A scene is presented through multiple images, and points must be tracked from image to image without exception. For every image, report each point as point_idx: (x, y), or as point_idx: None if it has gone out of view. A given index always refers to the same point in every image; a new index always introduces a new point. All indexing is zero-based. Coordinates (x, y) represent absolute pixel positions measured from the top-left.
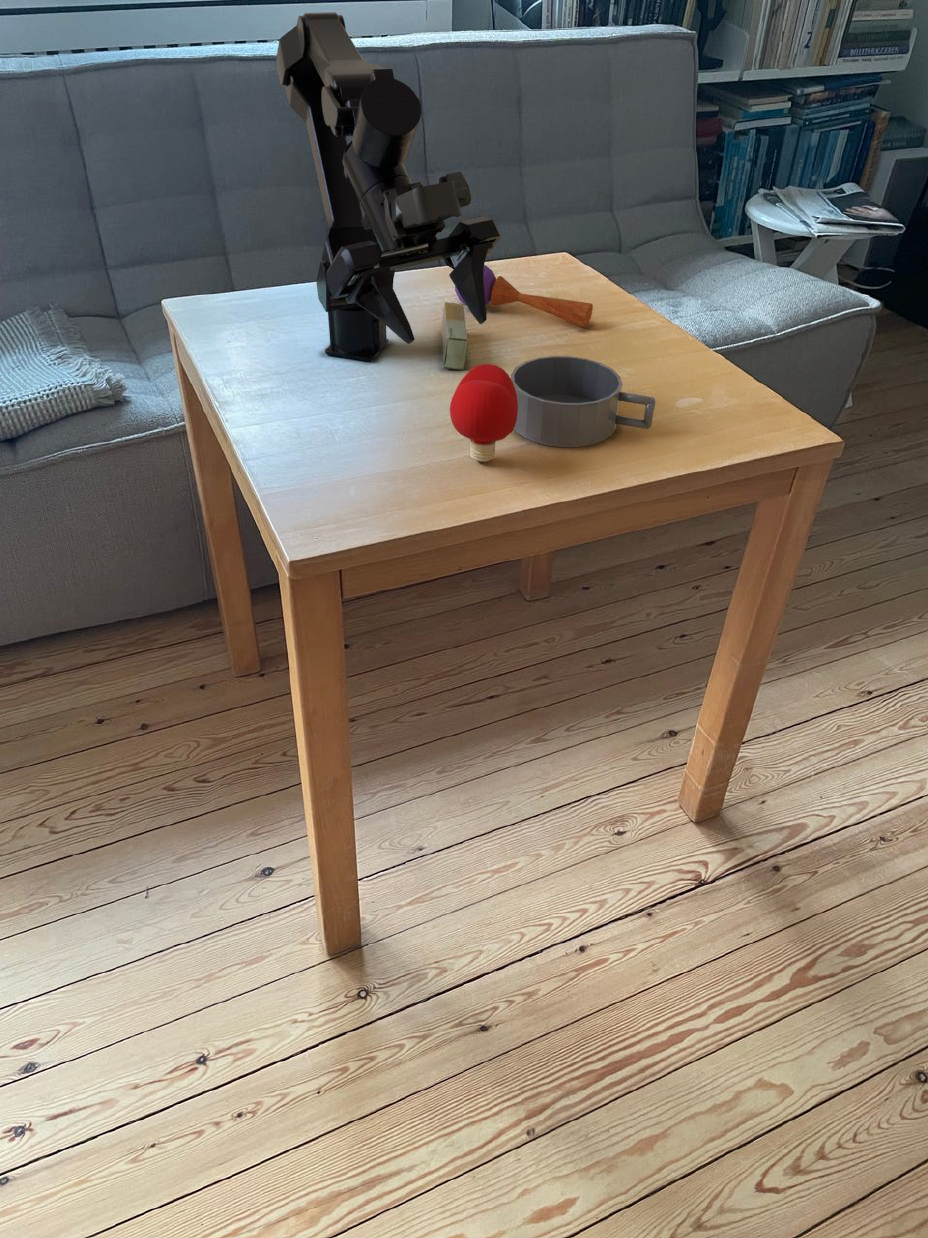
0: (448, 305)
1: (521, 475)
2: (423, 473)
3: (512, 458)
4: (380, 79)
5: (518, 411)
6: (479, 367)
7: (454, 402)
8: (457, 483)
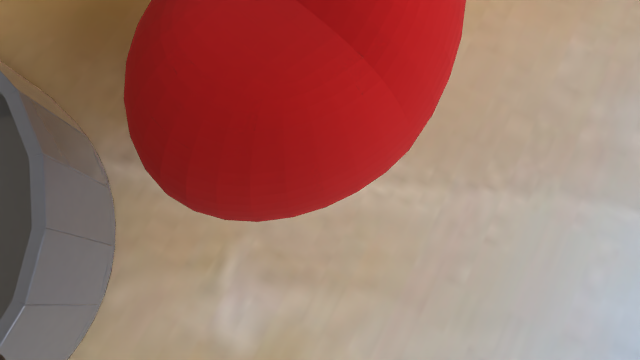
0: None
1: None
2: (506, 144)
3: None
4: None
5: (85, 224)
6: (268, 75)
7: (460, 12)
8: None
